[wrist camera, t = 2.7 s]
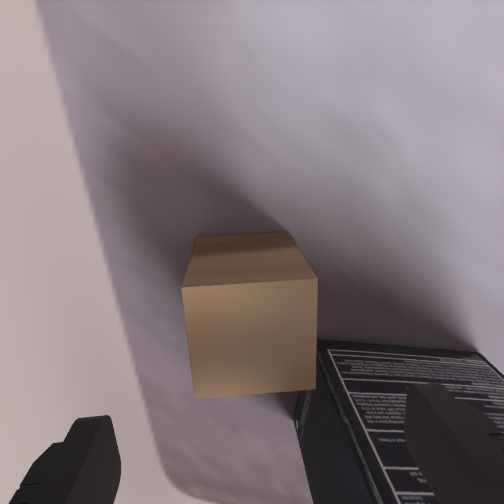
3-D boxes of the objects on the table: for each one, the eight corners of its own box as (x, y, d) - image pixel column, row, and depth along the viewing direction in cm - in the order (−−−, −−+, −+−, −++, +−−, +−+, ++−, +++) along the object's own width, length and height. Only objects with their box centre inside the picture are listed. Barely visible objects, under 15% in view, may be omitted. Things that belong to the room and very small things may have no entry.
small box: (289, 427, 21) (344, 687, 11) (308, 335, 19) (397, 553, 9) (448, 435, 22) (628, 679, 12) (483, 350, 20) (731, 557, 10)
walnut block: (197, 236, 17) (181, 287, 11) (287, 231, 17) (318, 278, 11) (205, 317, 18) (194, 399, 13) (288, 311, 18) (315, 389, 13)
